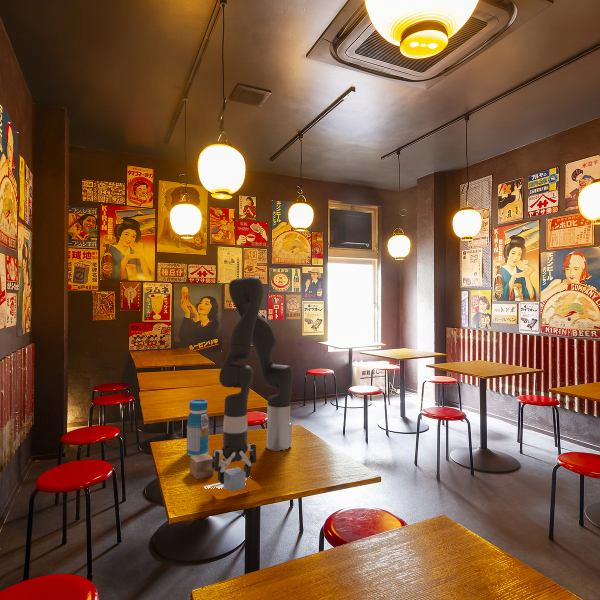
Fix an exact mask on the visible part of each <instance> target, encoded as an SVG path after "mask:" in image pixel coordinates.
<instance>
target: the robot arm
mask: <svg viewBox="0 0 600 600" xmlns="http://www.w3.org/2000/svg"><path fill="white" fill-rule="evenodd" d="M228 293H229V297H230V298H231V301H232V303H233V305H234V307H235V309H236V311H237V314H238V315H239V316H240V319H239V320H238V322H237V323H236V325H235V326H234V328H233V330H232V332H231V335H230V341H229V347H228V348H229V349H228V352H227V355H226V358H225V361H224V362H223V364H222V366H221V369H220V371H219V375H218V380H219V383H220V385H221V386H222V387H224V388H236V389H237V388H240V391H239V392H238V393H237V392H236V393H233V394H232V393H231V394H228V395H226V396H225V398H224V414H223V415H224V416H223V423H222V424H223V427H222V430H223V431H222V433H223V434H222V448H221V449H213V451H212V456H211V457H212V469H213V472H217V481H218V483H221V484H224V470H226V468H227V467H228V466H229V465H230V463H231V464H232V463H235V462H241V460H242V462H244V465H243V471H244V472H246V474H245V477H246V478H249V476H250V477H251V472H252V471H251V466H252V464H256V463H257V445H256V444H255V443H253V442H250V443H249V444H247V443H248V427H249V426H248V401H249V400H248V399H249V394H250V389H251V386H252V383H253V380H254V375H255V374H254V369H253V368H252V367H251V366H250V365H247V364H237V363H239V362H243V361H247V360H248V359H249V358H250V357H251V352H252V348H253V350H254V352H255V355H256V359H257V360H258V363H259V367H260V370H261V371H260V372H261V374H262V378H263V381H264V383H265V385H266V386H268V387H271V388H277V389H279V391H278V393H277V394H273V395H270V396H269V397H268V398H267V410H266V411H267V413H266V414H267V415H266V418H267V419H266V420H267V421H266V448H267V450H270V451H273V452H281V451H280V450H283V451H286V450H285V449H287V448H289V447H290V448H292V439H293V434H292V433H293V424H292V423H291V402H292V401H291V400H292V392H293V381H294V379H293V378H294V375H293V374H294V373H293V368H292V367H291V366H290V365H285V364H284V365H283V364H277V363H274V361H273V359H272V354H273V351H274V350H275V347H276V344H277V343H276V342H277V341H276V336H275V333H274V331H273V327H272V325H271V324H270V322H268V321H267V320H266V319H265V318H264V317H262V315H260V314H259V312H260V309H261V305H262V301H263V298H264V296H263V295H264V285H263V282H262V280H261V279H260V278H259V277H258V276H247V277H241V278H240V277H239V278H235V279H232V280H230V282H229V284H228ZM290 448H289V449H290ZM287 450H288V449H287ZM247 451H249V458H248V456H247V455H246V453H247ZM220 458H221V459H220Z"/></svg>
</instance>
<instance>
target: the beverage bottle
mask: <svg viewBox="0 0 600 600" xmlns="http://www.w3.org/2000/svg"><path fill="white" fill-rule="evenodd" d="M207 410H208V400H207V399H204V398H203V399H192V400H189V411H190V412H189V413H188V415H187V417H186V418H187V419H186V420H187V423H186V455H188V456H189V457H190V456H195V455H200V454H205V453H208V454H209V435H210V431H209V430H210V422H209V420H210V416H209V414H208V412H207Z"/></svg>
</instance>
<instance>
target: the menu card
mask: <svg viewBox="0 0 600 600" xmlns="http://www.w3.org/2000/svg"><path fill="white" fill-rule="evenodd" d="M249 477H251V475H250V476H249ZM246 480H247V478H246V477H245V481H246ZM245 485H246V483H245ZM206 487H207V488H208V489H209V488H211V487H212V488H213V487H214V488H215V487H216V488H218V489H220V488H221V489H222V488H223V489H226V488H225V487H224V484H221V483H220V482H217V483H212V484H208V485H204V486H203V488H204V489H205V490H206V489H207V488H206ZM212 488H211V489H212ZM214 488H213V489H214Z"/></svg>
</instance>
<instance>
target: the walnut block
mask: <svg viewBox="0 0 600 600" xmlns="http://www.w3.org/2000/svg"><path fill="white" fill-rule="evenodd" d="M212 457H213V456H211V455H210V454H209V452H208V453H205V454H200V455H195V456H189V473H190V475H191V476H193V478H194V479H196V480H198V479H202V478H203V479H204V478H207V477H211V476H214V470H213V469H212Z"/></svg>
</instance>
